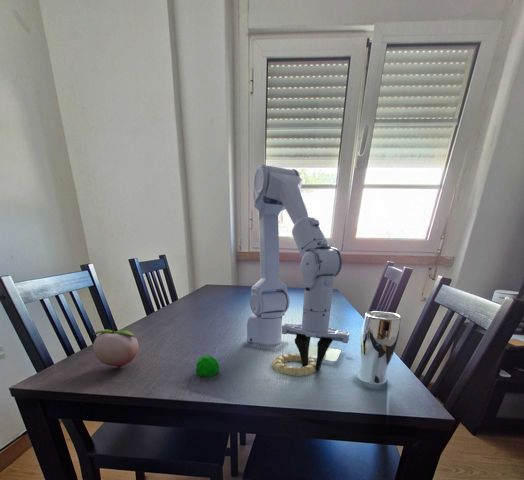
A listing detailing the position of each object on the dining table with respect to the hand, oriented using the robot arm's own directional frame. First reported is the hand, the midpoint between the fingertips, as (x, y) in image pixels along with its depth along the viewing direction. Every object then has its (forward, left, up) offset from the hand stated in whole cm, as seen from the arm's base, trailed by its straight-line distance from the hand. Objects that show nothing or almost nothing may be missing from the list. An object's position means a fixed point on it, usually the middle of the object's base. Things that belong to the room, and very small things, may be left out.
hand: (311, 367), depth 64 cm
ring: (-4, 0, 0) cm, 4 cm away
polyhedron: (-20, -12, -2) cm, 23 cm away
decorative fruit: (-41, -17, -2) cm, 44 cm away
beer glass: (+13, +1, -2) cm, 13 cm away
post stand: (0, +11, -1) cm, 11 cm away
